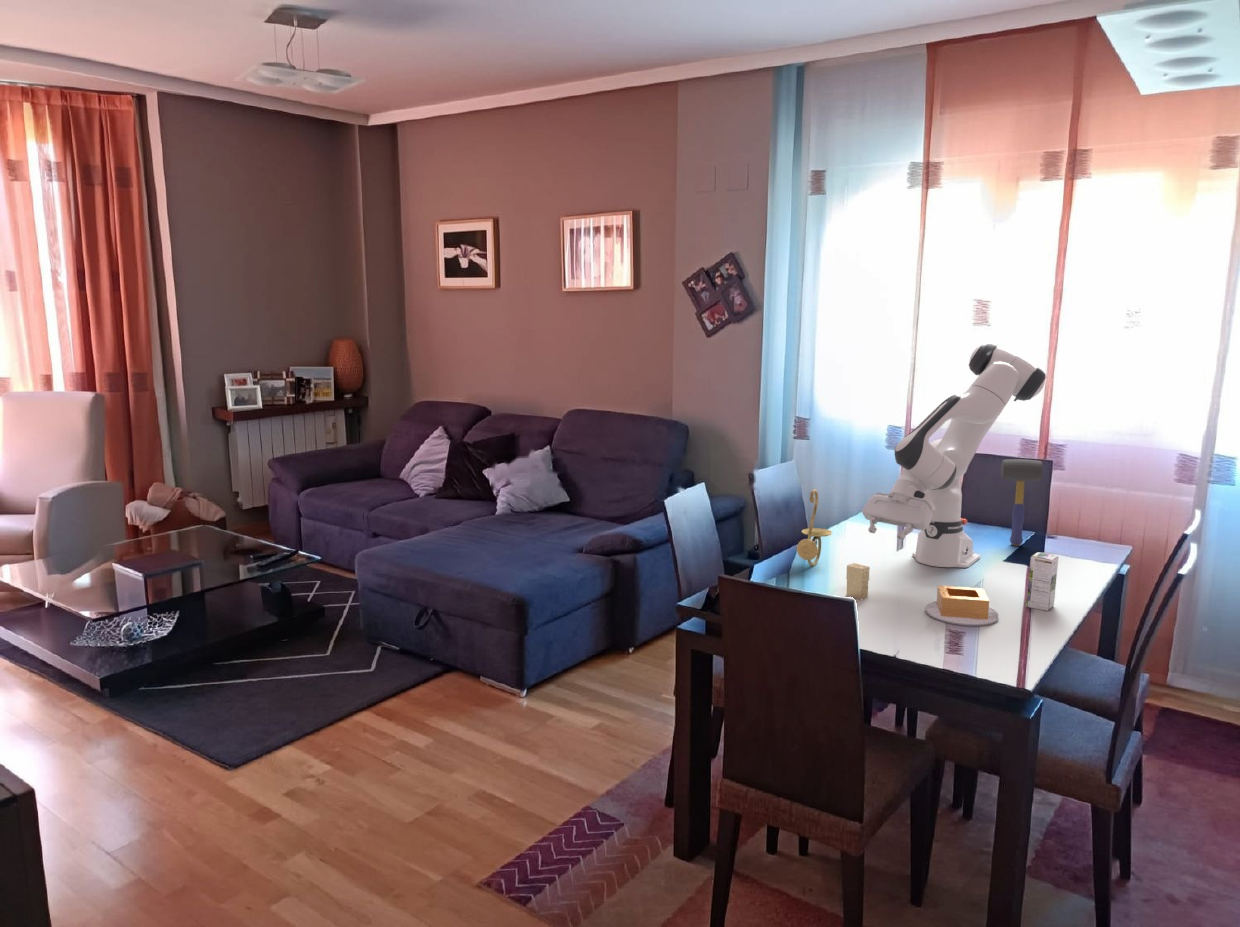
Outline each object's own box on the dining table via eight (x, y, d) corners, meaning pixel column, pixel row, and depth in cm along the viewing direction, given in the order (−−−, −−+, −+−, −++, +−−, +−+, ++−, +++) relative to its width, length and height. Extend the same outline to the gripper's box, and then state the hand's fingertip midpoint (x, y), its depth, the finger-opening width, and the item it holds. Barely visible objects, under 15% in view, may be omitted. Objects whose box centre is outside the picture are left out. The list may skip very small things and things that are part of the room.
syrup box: (1031, 601, 244) (1035, 551, 241) (1054, 606, 240) (1058, 554, 238) (1025, 607, 239) (1029, 555, 237) (1049, 611, 236) (1053, 559, 233)
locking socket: (922, 601, 245) (923, 580, 243) (991, 606, 240) (993, 585, 239) (929, 623, 227) (930, 601, 226) (1003, 629, 223) (1005, 606, 222)
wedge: (853, 593, 252) (854, 563, 250) (868, 597, 248) (869, 566, 247) (845, 596, 249) (846, 565, 248) (860, 600, 246) (862, 569, 244)
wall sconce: (821, 573, 271) (824, 494, 267) (791, 569, 276) (793, 491, 271) (834, 562, 283) (837, 486, 279) (806, 558, 288) (808, 483, 283)
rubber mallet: (1033, 543, 304) (1040, 458, 299) (1037, 549, 297) (1044, 461, 292) (995, 541, 308) (1000, 456, 303) (997, 546, 301) (1004, 460, 296)
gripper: (870, 485, 264) (850, 522, 260) (933, 495, 249) (913, 535, 244) (878, 497, 268) (858, 534, 263) (940, 508, 253) (921, 547, 248)
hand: (885, 535), depth 254 cm, fingers open, 8 cm apart
